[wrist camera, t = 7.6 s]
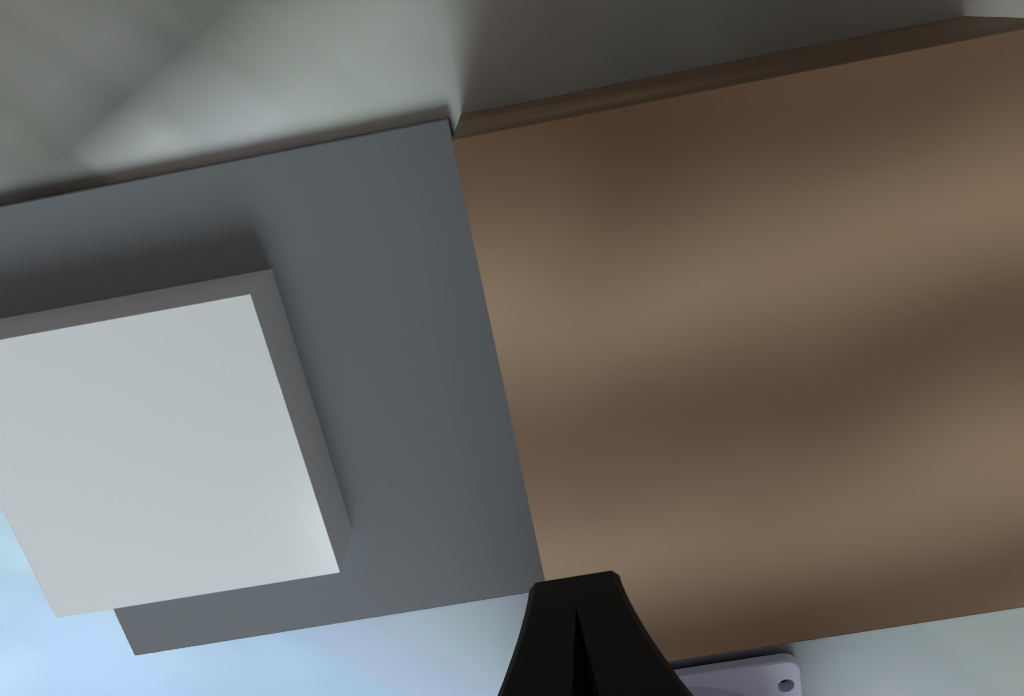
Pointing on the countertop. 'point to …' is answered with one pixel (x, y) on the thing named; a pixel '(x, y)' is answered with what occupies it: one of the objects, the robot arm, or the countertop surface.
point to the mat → (326, 358)
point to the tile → (164, 447)
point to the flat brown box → (770, 332)
